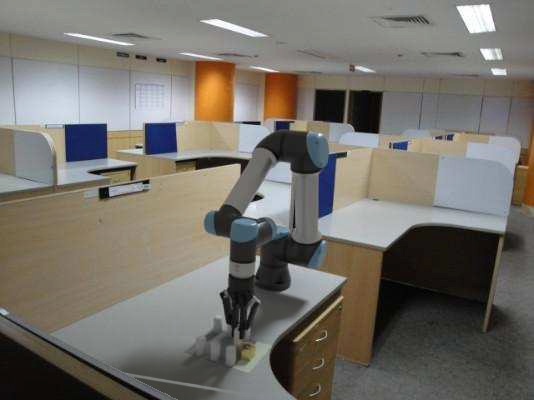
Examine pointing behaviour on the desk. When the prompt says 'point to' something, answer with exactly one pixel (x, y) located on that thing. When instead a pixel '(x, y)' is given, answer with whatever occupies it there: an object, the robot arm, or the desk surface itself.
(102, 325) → the desk surface
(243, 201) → the robot arm
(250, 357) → the nut
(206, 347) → the spacer field
